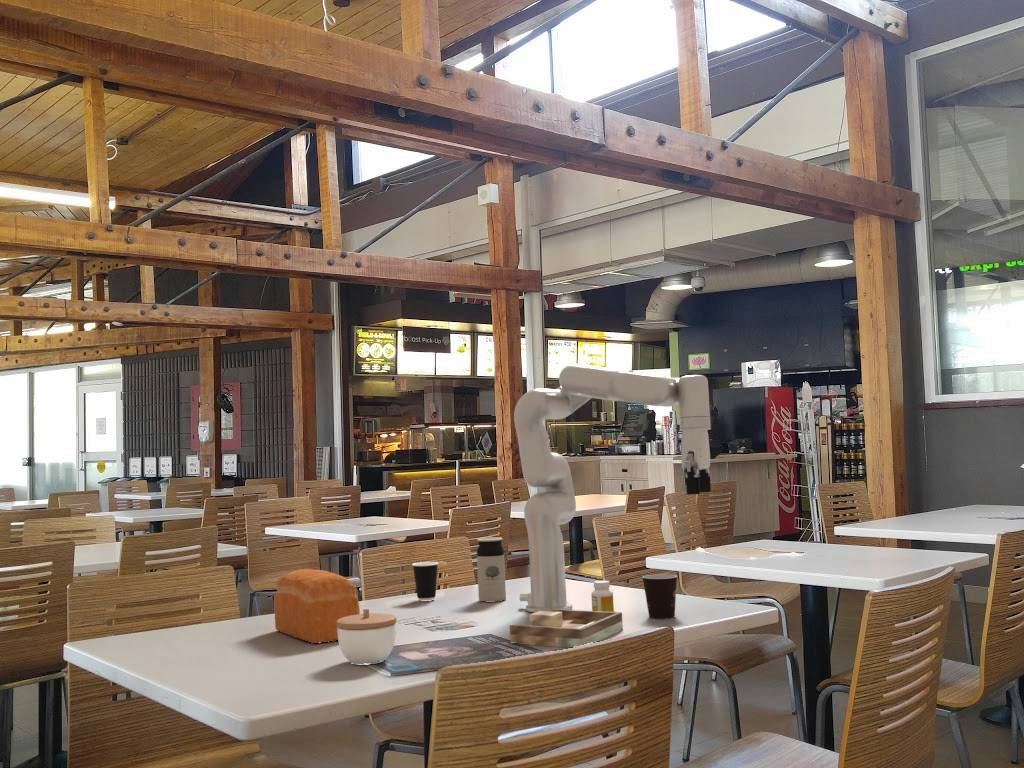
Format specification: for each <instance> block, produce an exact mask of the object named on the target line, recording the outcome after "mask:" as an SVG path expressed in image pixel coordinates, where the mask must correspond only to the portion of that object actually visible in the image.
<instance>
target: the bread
mask: <svg viewBox="0 0 1024 768" xmlns="http://www.w3.org/2000/svg"><path fill="white" fill-rule="evenodd" d="M273 598H274V599H273V602H274V603H273V604H274V606H273V607H274V623H275V624H274V625H275V629H276V631H277V630H278V631H277V632H279V631H281V632H280V633H282V632H283V633H282V634H285V633H286V634H285V635H287V634H289V635H288V636H290V635H291V636H290V637H293V636H294V637H293V638H296V637H297V638H296V639H298V638H299V639H298V640H301V639H302V640H301V641H304V640H305V641H304V642H306V641H308V642H307V643H309V642H311V643H310V644H314V643H318V644H320V643H319V642H328V641H335V642H337V641H336V640H338V635H337V625H336V621H337V620H338V619H340V618H342V617H346V616H351V615H358V614H361V611H360V609H361V608H360V605H359V604H360V603H359V598H358V596H357V594H356V586H355V585H354V584H353V582H352V581H351V580H350V579H348V578H347V577H345V576H342V575H340V574H336V573H334V572H331V571H327V570H324V569H323V570H322V569H311V568H302V569H296V570H292V571H290V572H288V573H285V574H284V575H282V576H281V577H280V578H279V579H278V580H277V582H276V593H275V594H274V597H273ZM328 643H329V642H328Z"/></svg>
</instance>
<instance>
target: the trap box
mask: <svg viewBox="0 0 1024 768" xmlns="http://www.w3.org/2000/svg"><path fill="white" fill-rule="evenodd" d="M552 612H562V620H563V625H561V626H559V627H545V626H530V625H528V624H527V625H525V624H524V625H523V624H510V625H509V634H510V635H509V636H510V637H509V640H510V643H511V642H516V643H522V644H521V645H527V644H529V646H530V645H531V646H542V647H558V648H569V647H574V646H580V645H584V644H587V643H591V642H595V641H598V642H600V641H601V640H605V639H606V638H607V637H610V636H612V635H615V634H617V633H618V632H620V631H622V630H623V629H624V628H623V627H624V625H623V612H619V611H618V612H617V611H614V612H603V611H592V610H580V609H571V610H563V609H553V610H552ZM595 643H596V642H595ZM569 649H570V648H569Z"/></svg>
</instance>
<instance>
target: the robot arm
mask: <svg viewBox="0 0 1024 768" xmlns="http://www.w3.org/2000/svg"><path fill="white" fill-rule="evenodd" d="M558 376H559V377H558V383H559V385H560V386H559V387H557V388H556V389H555V388H554V389H553V388H542V387H541V388H534V389H531V390H529V391H527V392H524V394H523V395H522V396H521V397H520V398H519V399H518V401H517V403H516V405H515V408H514V413H513V415H514V416H513V421H514V426H515V432H516V435H517V437H516V438H517V441H518V451H519V457H520V464H521V469H522V475H523V479H524V482H525V483H526V484H527V485H528V486H529V487H532V488H542V492H539V493H535V494H533V495H531V496H530V497H529V498H528V500H527V501H526V502H525V506H524V508H523V509H524V510H523V514H524V515H523V516H524V521H525V526H526V532H527V539H528V554H529V555H528V556H529V579H530V591H529V592H528V593H525V592H524V593H522V592H521V593H520V594H519V602H527V604H526V606H525V610H526V611H527V612H529V613H535V612H538V611H552V610H553V609H563V610H573V603H571V602H567V587H566V584H567V583H566V582H567V581H566V566H565V565H566V564H565V546H564V538H563V533H562V531H561V525H565V524H568V523H569V522H571V520H573V519H574V516H575V514H576V509H577V505H576V496H575V489H574V483H573V478H572V473H571V468H570V465H569V463H568V461H567V459H566V458H565V457H564V456H563V455H561V454H560V453H557V452H552V450H551V447H550V446H551V444H550V438H549V434H548V431H547V429H546V427H545V425H544V420H556V421H557V420H562V419H566V418H567V417H569V416H571V415H572V414H573V413H575V411H577V410H578V409H579V408H581V407H582V406H583V405H585V404H586V403H587V402H588V401H589V400H591V399H597V400H598V399H599V400H602V401H603V400H604V401H611V402H624V403H625V402H626V403H633V404H640V405H646V406H652V407H653V406H654V407H665V408H666V407H676V406H678V410H679V411H678V413H679V431H680V432H681V445H680V446H681V447H680V448H681V469H682V470H683V471H685V484H686V486H685V487H686V495H700V494H701V493H711V492H712V485H711V471H710V467H711V453H710V452H711V451H710V441H709V440H710V439H709V433H708V431H709V430H711V429H712V427H711V426H712V425H711V413H710V394H709V380H708V377H706V376H705V375H702V374H692V375H689V374H688V375H684V376H680V377H670V376H669V377H667V376H660V375H652V374H641V373H634V372H627V371H623V370H621V369H619V368H612V367H611V368H610V367H604V366H595V365H587V364H582V363H581V364H578V363H573V364H568V365H566V366H565V367H564V368H562V369H561V371H560V373H559V375H558Z"/></svg>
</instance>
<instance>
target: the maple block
mask: <svg viewBox="0 0 1024 768" xmlns="http://www.w3.org/2000/svg"><path fill="white" fill-rule="evenodd" d="M561 625H563V620H562V612H552V611H538V612H535V613H534V612H531V613H530V614H529V626H545V627H559V626H561Z"/></svg>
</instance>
